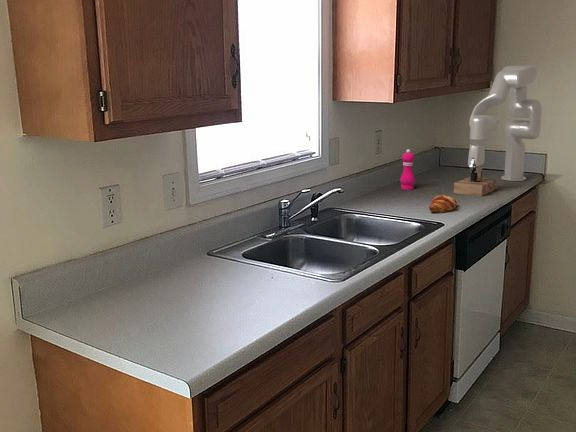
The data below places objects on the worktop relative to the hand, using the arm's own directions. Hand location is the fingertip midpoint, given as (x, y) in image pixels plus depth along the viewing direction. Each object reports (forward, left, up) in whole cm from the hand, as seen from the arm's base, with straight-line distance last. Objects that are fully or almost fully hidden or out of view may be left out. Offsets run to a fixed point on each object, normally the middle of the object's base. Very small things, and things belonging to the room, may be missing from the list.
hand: (476, 179), depth 317 cm
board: (0, 0, -6) cm, 6 cm away
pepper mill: (+12, -31, -6) cm, 34 cm away
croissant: (+44, +4, -6) cm, 45 cm away
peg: (0, 0, -5) cm, 5 cm away
